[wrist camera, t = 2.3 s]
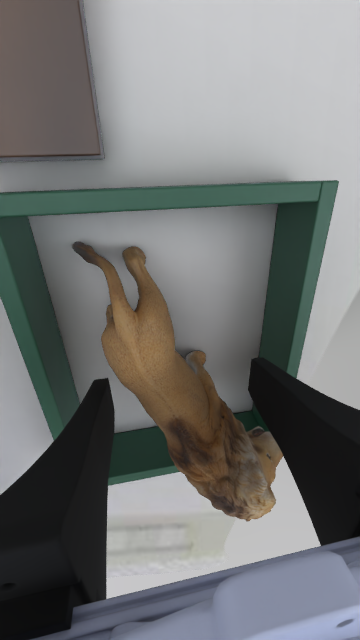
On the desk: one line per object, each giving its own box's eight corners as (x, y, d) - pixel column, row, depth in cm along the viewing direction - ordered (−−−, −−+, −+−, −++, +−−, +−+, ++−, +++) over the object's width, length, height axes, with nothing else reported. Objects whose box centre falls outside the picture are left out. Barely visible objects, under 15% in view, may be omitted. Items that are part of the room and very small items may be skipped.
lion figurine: (246, 377, 20) (323, 501, 12) (190, 414, 21) (228, 554, 13) (113, 210, 13) (93, 246, 5) (36, 274, 14) (-79, 388, 6)
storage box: (80, 446, 20) (72, 493, 17) (2, 192, 12) (-39, 194, 9) (259, 416, 22) (280, 452, 19) (294, 181, 14) (340, 180, 11)
